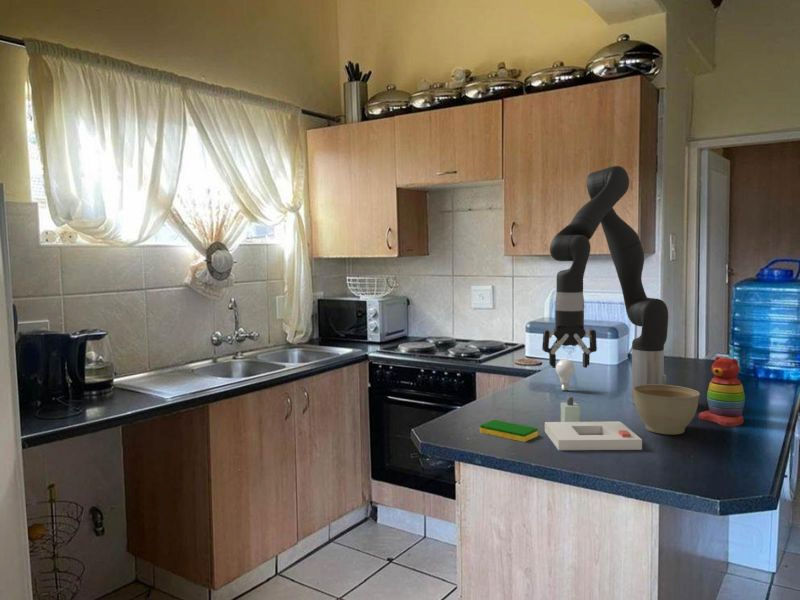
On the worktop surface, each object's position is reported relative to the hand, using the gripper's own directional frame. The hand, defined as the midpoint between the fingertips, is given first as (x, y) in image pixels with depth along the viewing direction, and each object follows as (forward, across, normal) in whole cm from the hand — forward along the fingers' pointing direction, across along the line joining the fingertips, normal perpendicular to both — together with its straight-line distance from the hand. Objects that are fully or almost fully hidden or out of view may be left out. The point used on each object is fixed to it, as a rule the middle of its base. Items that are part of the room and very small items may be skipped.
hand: (569, 367), depth 168 cm
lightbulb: (+16, -9, -43) cm, 47 cm away
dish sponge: (+17, +18, +7) cm, 26 cm away
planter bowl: (+16, -24, +5) cm, 30 cm away
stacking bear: (+16, -44, -4) cm, 47 cm away
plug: (+16, 0, 0) cm, 16 cm away
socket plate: (+16, -2, +13) cm, 21 cm away
